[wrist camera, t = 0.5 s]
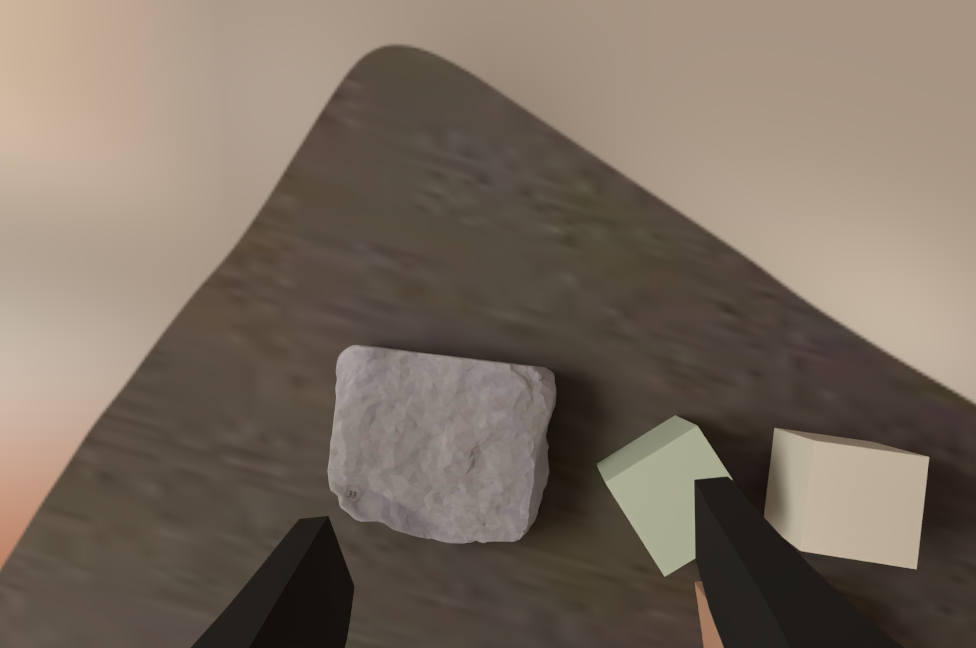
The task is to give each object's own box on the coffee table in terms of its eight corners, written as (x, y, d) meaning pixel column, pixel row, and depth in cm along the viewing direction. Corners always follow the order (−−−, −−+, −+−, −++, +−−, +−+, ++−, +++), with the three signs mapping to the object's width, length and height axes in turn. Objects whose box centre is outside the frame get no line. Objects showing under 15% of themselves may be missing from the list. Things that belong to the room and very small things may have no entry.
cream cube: (860, 537, 33) (916, 569, 28) (762, 521, 34) (800, 550, 29) (871, 441, 34) (929, 456, 29) (773, 427, 34) (813, 440, 29)
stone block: (545, 522, 37) (561, 352, 35) (540, 566, 32) (558, 372, 30) (346, 495, 38) (353, 331, 37) (313, 534, 34) (319, 347, 32)
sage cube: (727, 495, 34) (758, 519, 29) (646, 544, 34) (664, 576, 29) (675, 415, 35) (697, 425, 30) (595, 464, 35) (605, 482, 30)
